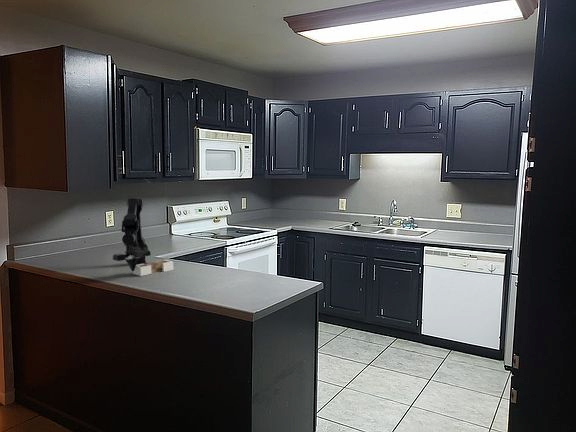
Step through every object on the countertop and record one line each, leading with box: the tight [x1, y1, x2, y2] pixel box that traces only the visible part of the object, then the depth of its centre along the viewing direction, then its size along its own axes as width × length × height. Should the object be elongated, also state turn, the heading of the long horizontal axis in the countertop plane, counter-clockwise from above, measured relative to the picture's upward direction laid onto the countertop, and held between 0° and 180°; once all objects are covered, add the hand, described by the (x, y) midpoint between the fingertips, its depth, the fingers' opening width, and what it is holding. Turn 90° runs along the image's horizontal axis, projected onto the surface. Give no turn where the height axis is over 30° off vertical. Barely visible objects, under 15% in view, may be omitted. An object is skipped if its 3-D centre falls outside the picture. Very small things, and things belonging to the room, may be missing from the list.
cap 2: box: [155, 259, 174, 272], centre depth 258 cm, size 8×6×4 cm
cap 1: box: [132, 264, 153, 277], centre depth 248 cm, size 8×6×4 cm
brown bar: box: [140, 259, 167, 274], centre depth 253 cm, size 16×4×5 cm, turn 144°
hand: (132, 271), depth 244 cm, fingers closed
